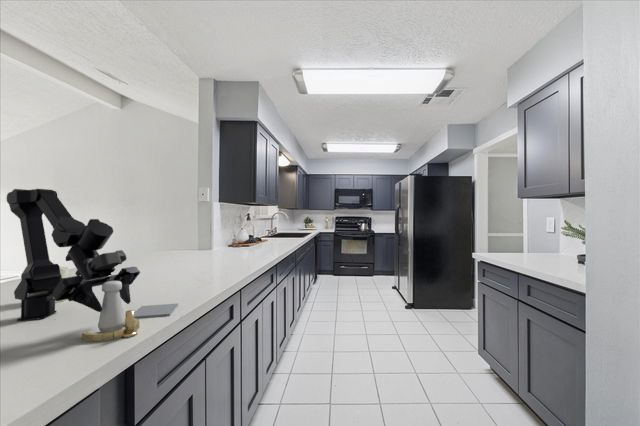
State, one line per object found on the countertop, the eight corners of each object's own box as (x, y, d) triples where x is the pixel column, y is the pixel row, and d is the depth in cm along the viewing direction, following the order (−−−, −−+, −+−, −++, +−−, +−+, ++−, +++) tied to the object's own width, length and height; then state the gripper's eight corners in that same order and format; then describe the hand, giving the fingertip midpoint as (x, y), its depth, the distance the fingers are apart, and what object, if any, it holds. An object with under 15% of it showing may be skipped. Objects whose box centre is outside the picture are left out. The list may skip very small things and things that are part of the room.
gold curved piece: (80, 339, 69) (80, 314, 70) (129, 322, 81) (129, 301, 81) (108, 346, 66) (109, 320, 66) (155, 327, 77) (155, 305, 77)
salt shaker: (130, 327, 77) (131, 279, 77) (113, 336, 71) (113, 284, 72) (110, 327, 78) (111, 279, 78) (91, 335, 72) (92, 283, 72)
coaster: (128, 319, 84) (128, 317, 84) (141, 307, 94) (141, 305, 94) (169, 315, 86) (169, 313, 86) (178, 305, 97) (178, 303, 97)
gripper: (60, 244, 68) (90, 295, 63) (136, 239, 85) (163, 279, 81) (40, 275, 70) (67, 326, 66) (117, 264, 88) (143, 304, 83)
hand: (115, 306), depth 74 cm, fingers open, 7 cm apart
